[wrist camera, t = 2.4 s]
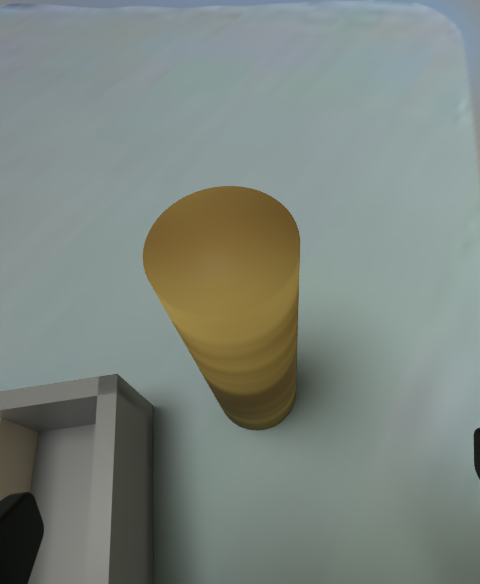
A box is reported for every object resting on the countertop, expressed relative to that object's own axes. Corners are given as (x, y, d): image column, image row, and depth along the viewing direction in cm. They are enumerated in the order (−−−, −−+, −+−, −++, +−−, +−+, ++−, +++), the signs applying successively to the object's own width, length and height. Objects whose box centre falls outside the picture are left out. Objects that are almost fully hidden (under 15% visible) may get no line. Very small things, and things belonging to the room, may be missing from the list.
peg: (302, 423, 20) (315, 299, 9) (222, 435, 20) (142, 326, 9) (288, 348, 22) (284, 175, 11) (215, 359, 22) (143, 198, 11)
